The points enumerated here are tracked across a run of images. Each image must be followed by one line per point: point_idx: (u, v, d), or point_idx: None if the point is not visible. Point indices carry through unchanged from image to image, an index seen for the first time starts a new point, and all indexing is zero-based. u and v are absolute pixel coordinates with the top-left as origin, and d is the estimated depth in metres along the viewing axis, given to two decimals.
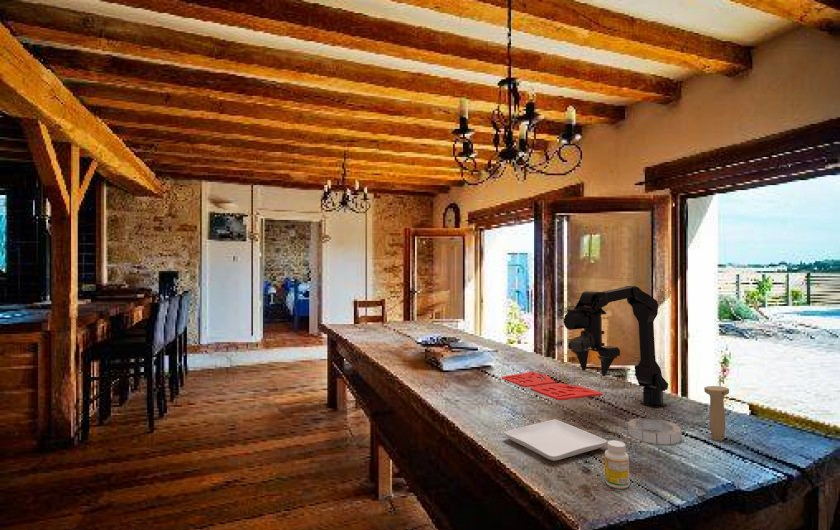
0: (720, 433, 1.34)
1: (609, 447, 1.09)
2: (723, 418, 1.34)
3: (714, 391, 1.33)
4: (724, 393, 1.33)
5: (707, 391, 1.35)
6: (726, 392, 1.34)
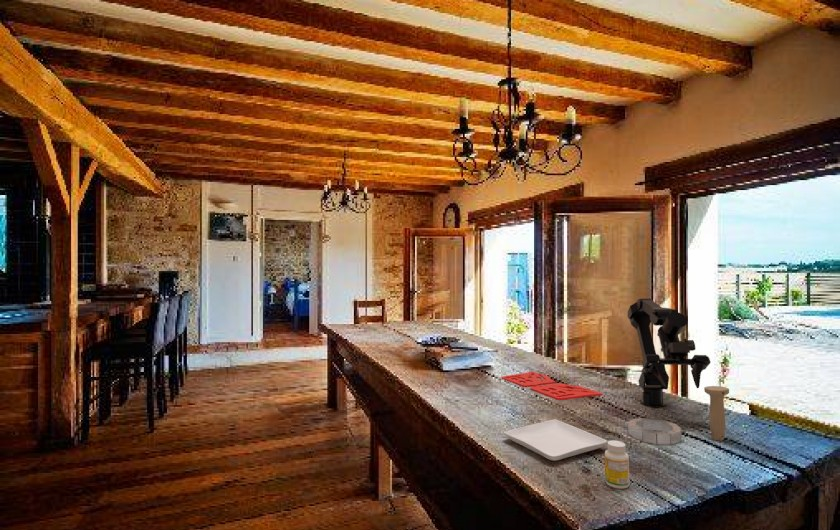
0: (720, 433, 1.34)
1: (609, 447, 1.09)
2: (723, 418, 1.34)
3: (714, 391, 1.33)
4: (724, 393, 1.33)
5: (707, 391, 1.35)
6: (726, 392, 1.33)
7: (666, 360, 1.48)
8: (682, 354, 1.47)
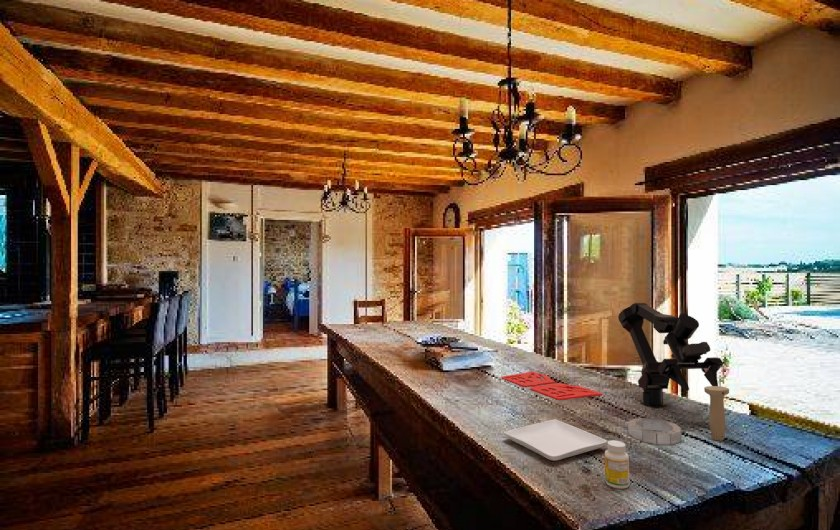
0: (720, 433, 1.34)
1: (609, 447, 1.09)
2: (723, 418, 1.34)
3: (714, 391, 1.33)
4: (724, 393, 1.33)
5: (707, 391, 1.35)
6: (726, 392, 1.34)
7: (682, 364, 1.47)
8: (696, 357, 1.47)
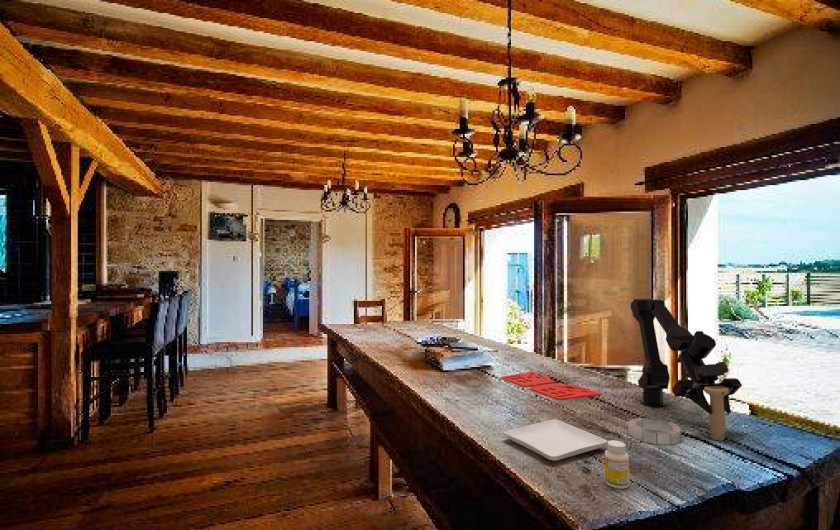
0: (720, 433, 1.34)
1: (609, 447, 1.09)
2: (723, 418, 1.34)
3: (714, 391, 1.33)
4: (724, 393, 1.33)
5: (707, 391, 1.35)
6: (726, 392, 1.33)
7: (704, 385, 1.39)
8: (713, 378, 1.39)
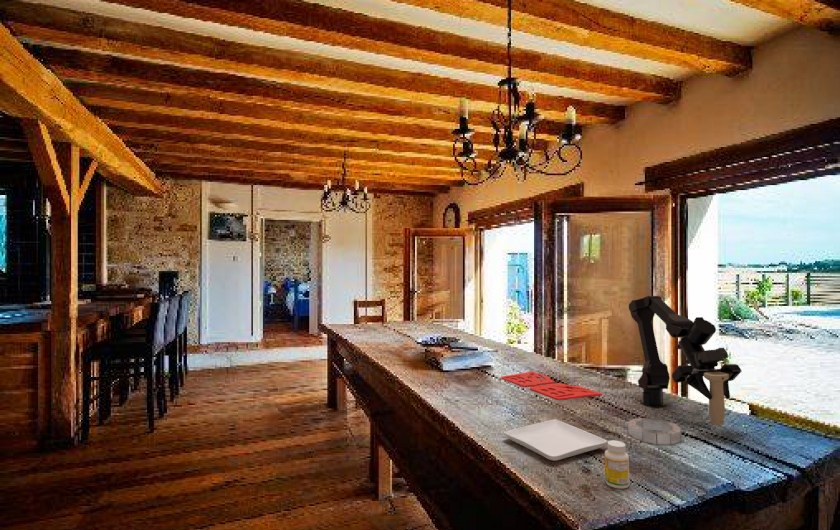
0: (719, 418, 1.34)
1: (609, 447, 1.09)
2: (722, 403, 1.34)
3: (714, 376, 1.33)
4: (724, 378, 1.33)
5: (707, 377, 1.35)
6: (726, 377, 1.34)
7: (704, 371, 1.40)
8: (713, 364, 1.39)
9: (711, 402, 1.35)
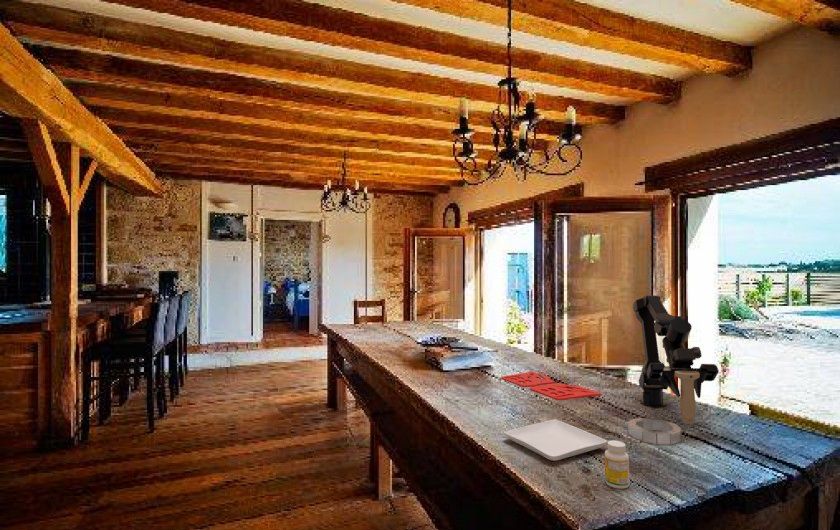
0: (689, 416, 1.35)
1: (609, 447, 1.09)
2: (692, 402, 1.34)
3: (681, 374, 1.35)
4: (692, 377, 1.34)
5: (676, 374, 1.36)
6: (695, 376, 1.34)
7: (679, 369, 1.40)
8: (688, 362, 1.39)
9: (681, 400, 1.36)
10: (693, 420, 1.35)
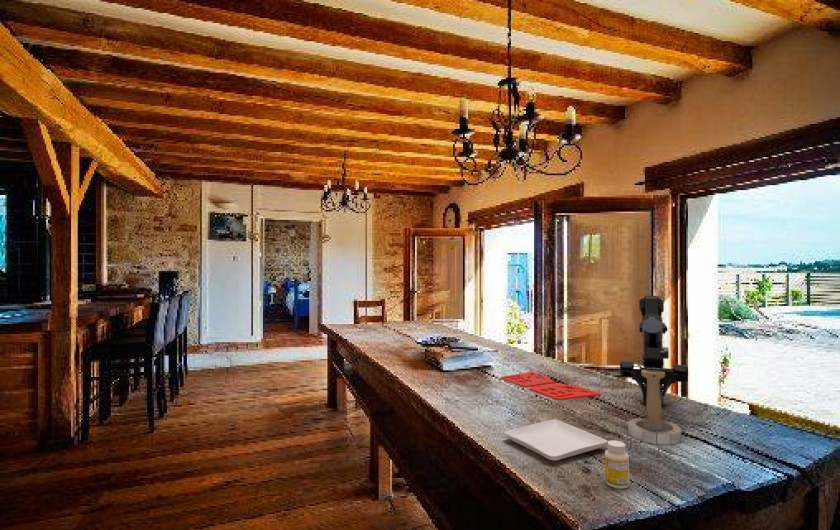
0: (652, 414, 1.38)
1: (609, 447, 1.09)
2: (656, 400, 1.37)
3: (645, 373, 1.38)
4: (655, 376, 1.37)
5: (641, 373, 1.40)
6: (658, 375, 1.37)
7: (649, 368, 1.43)
8: (658, 362, 1.42)
9: None
10: (658, 418, 1.38)
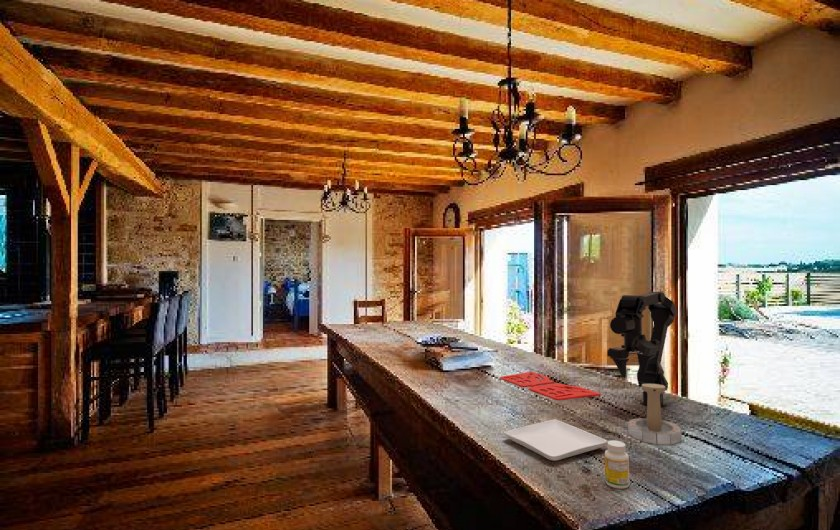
0: (653, 429, 1.38)
1: (609, 447, 1.09)
2: (656, 415, 1.38)
3: (645, 387, 1.39)
4: (656, 390, 1.37)
5: (642, 387, 1.41)
6: (659, 389, 1.37)
7: (629, 352, 1.58)
8: None
9: (647, 412, 1.40)
10: None
